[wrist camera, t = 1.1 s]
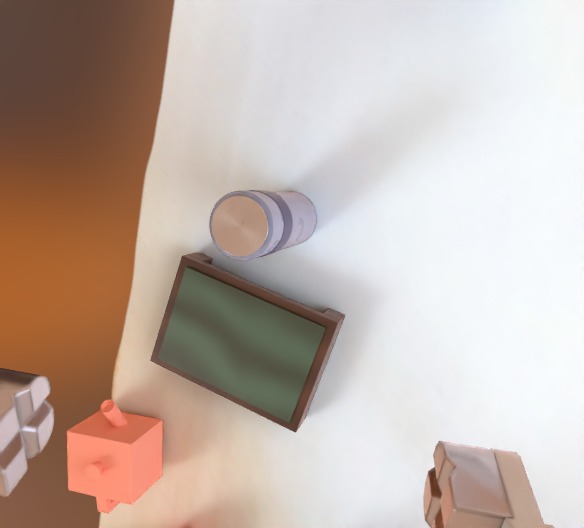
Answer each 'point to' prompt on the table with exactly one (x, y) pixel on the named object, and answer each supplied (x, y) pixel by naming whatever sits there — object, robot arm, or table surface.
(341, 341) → the table surface
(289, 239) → the slim drink can
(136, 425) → the pink cube teapot
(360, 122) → the table surface
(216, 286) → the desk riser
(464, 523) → the robot arm
